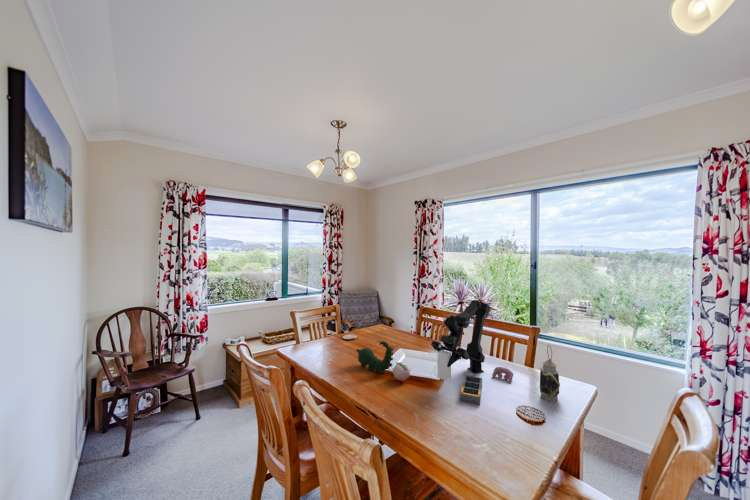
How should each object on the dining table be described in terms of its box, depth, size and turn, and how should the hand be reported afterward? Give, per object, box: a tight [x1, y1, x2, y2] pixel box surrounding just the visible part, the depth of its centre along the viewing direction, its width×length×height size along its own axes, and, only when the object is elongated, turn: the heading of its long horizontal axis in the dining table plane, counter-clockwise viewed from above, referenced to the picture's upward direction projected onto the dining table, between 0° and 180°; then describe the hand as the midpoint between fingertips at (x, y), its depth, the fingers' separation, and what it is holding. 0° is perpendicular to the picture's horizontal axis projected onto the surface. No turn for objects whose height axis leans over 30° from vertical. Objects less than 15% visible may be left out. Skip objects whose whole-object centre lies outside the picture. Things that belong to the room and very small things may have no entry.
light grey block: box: [437, 350, 452, 381], centre depth 138 cm, size 4×5×12 cm
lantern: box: [539, 344, 561, 403], centre depth 132 cm, size 9×8×25 cm
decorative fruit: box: [392, 361, 411, 382], centre depth 148 cm, size 9×8×10 cm
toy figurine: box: [355, 340, 394, 374], centre depth 163 cm, size 9×19×25 cm
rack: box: [459, 374, 483, 406], centre depth 137 cm, size 20×8×4 cm, turn 157°
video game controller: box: [491, 366, 514, 384], centre depth 151 cm, size 10×5×7 cm, turn 47°
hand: (442, 365), depth 137 cm, fingers closed on light grey block, 5 cm apart
